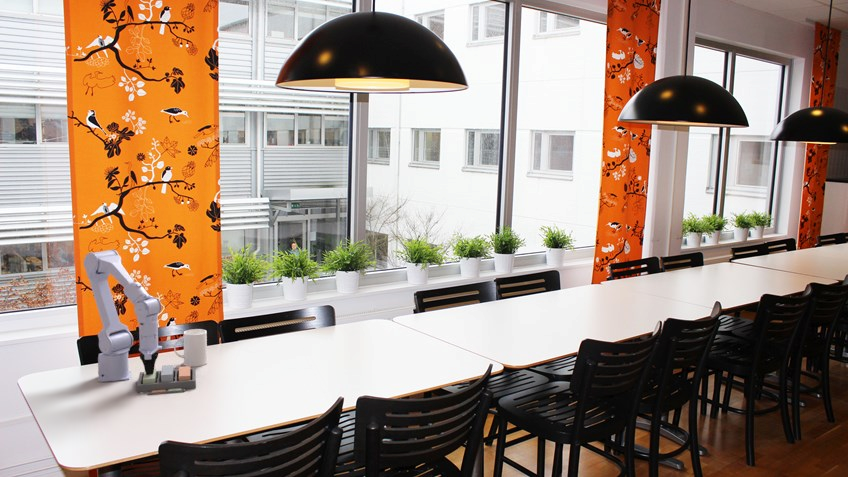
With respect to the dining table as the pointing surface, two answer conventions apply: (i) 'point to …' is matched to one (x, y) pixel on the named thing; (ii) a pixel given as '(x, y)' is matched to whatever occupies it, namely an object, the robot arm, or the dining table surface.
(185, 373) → the key terracotta
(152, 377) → the key sage
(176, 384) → the keypad frame
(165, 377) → the key slate
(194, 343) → the mug
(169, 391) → the strip
